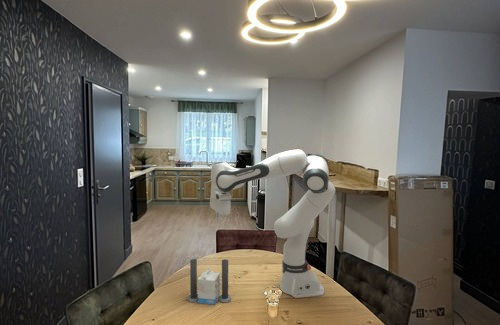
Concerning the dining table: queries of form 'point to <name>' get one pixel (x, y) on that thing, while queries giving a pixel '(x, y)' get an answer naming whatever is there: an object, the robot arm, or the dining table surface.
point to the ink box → (209, 287)
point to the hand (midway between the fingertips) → (219, 220)
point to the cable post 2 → (225, 283)
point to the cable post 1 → (193, 282)
